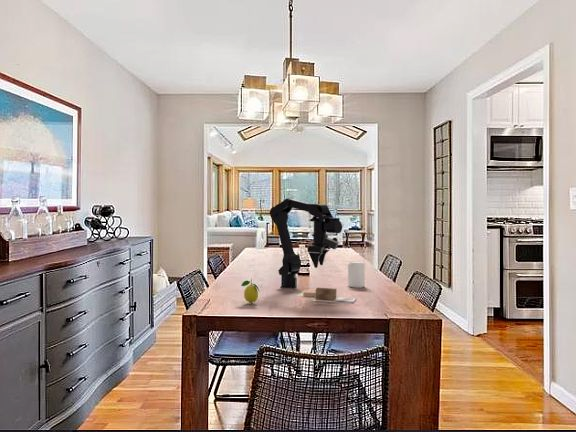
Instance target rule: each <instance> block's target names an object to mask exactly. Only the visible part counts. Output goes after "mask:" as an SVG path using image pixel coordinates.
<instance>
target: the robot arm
mask: <svg viewBox="0 0 576 432" xmlns="http://www.w3.org/2000/svg"><path fill="white" fill-rule="evenodd" d="M293 209H295V210H296V209H297V210H299V211H303V212H306V213H308V214H309V215H311V216H312V217H311V218H310V219H309V221H310V222H313V233H312V234H311V237H313V238H312V243H311V245H309V246H307V254H308V255H309V257H310V259H311V262H312V264H313V266H314V268H315V269H317V268H318V266H319V265H320V266H323V265H324V262H325V257H326V254H328V252H330V250H331V249H332V250H337V248H338V246H339V245H340V242H339V241H338V240H339V239H338V238H337V237H333V238H330V237H329V236H328V234H340V233H341V232H342V229H343V224H342V222H341V219H340V217H334V216H333V214H332V213H331V211H330V208H329V205H327V204H326V203H320V204H319V203H311V202H308V201H307V202H306V201H302V200H298V199H295V198H285V199H284V200H283V201H281V202H279V203H278V204H276V205H274V206H272V207H271V209H270V210H269V216H270V218H271V221H272V222H273V224H275V226H276V229H277V233H278V237H279V241H280V245H281V249H282V253H283V256H282V260H281V262H282V266H281V267H279V269H278V275H279V276H281V277H280V279H281V281H280V282H281V283H280V284H281V285H280V288H284V289H295V288H296V287H297V286H298V283H297V282H298V277H297V275H299V272H300V269H301V268H302V261H301V258H300V257H301V256H300V254H296V253H295V251H294V246H293V244H292V243H293V242H292V240H291V239H292V238H291V236H290V231H289V228H288V219H289V213H290V212H291V211H292V210H293Z"/></svg>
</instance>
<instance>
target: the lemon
mask: <svg viewBox="0 0 576 432" xmlns="http://www.w3.org/2000/svg"><path fill="white" fill-rule="evenodd" d="M241 287H246V288H245V289H244V292H243V295H244V296H243V297H244V300H245V301H246V302H248V303H249V304H250V305H252V304H253V303H255V302H257V300H258V298H259V292H261V291H260V288H259V287H258V285H257V284H256V283H253V282H252V278H251V279H250V280H244V281H243V282H242V283H241Z"/></svg>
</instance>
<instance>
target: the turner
mask: <svg viewBox="0 0 576 432" xmlns="http://www.w3.org/2000/svg"><path fill="white" fill-rule="evenodd" d="M315 290H316V297H315V298H316V300H329V301H334V302H333V303H339V302H344V303H343V304H354V303H355V302H356V301H357V298H354V297H353V298H352V297H341V296H339V297H337V288H332V287H331V288H328V287H316V288H315Z"/></svg>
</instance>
